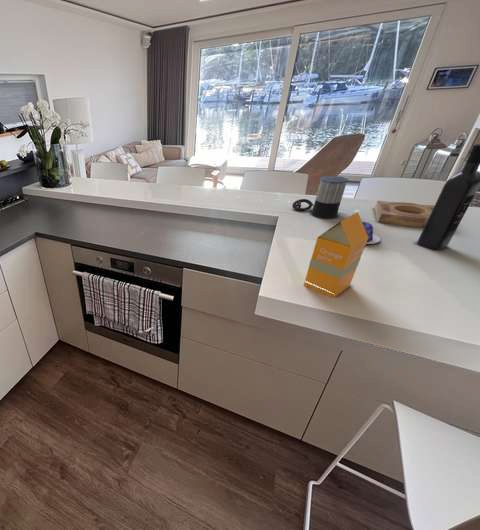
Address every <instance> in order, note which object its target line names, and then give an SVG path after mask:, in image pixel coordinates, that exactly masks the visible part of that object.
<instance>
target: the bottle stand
mask: <svg viewBox="0 0 480 530" xmlns="http://www.w3.org/2000/svg"><path fill="white" fill-rule="evenodd" d="M434 206H435V204H427V203H426V204H425V203H414V202H404V201H386V200H376V204H375V205H374V213H375V216H376V220H377V223H380V224H390V225H400V226H404V227H414V228H424V227H425V225H426V223H427V221H428V218H429V216H430V214H431V212H432V210H433V208H434Z"/></svg>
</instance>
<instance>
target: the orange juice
mask: <svg viewBox="0 0 480 530" xmlns="http://www.w3.org/2000/svg"><path fill="white" fill-rule="evenodd" d="M362 222H363V221H362V218H361V216H360V214H359V212H355V213H353V214H352V215H350V216H348V217H346V218H344V219H342V220H340V221H339V222H337V223H336V224H334V225H333V226H332V227H330V228H329V229H328V230H326V231H325V232H323V233H322V234H320V235H319V236H317V238H316V241H315V245H314V248H313V252H312V254H311V258H310V261H309V265H308V269H307V272H306V276H305V279H304V282H303V286H304V287H306V288H309V289H311V288H312V289H311V290H314V291H316V292H319V293H321V294H323V295H325V296H328V297H330V298H332V299H334V298H336V297H337V296H338V295H340V294H341V293H342V292H344V291H345V290H346V289H348V288H349V287H350V286H351V284H352V282H353V279H354V277H355V273H356V271H357V268H358V266H359V264H360V262H361V258H362V255H363V253H364V251H365V248H366V245H367V244H366V243H367V240H368V235H367V233H366V230H365V228H364V226H363V223H362ZM305 280H306V281H308V282H310V283H312V284H315V285H317V286H319V287H321V288H324V289H326V290H328V291H330V292H332V293H334V294H335V295H334V294H332V293H329V292H327V291H325V290H322V289H320V288H317V287H315V286H313V285H310V284H308V283H305Z"/></svg>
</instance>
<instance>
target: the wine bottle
mask: <svg viewBox="0 0 480 530" xmlns="http://www.w3.org/2000/svg"><path fill="white" fill-rule="evenodd" d="M479 166H480V143H478V144H476V143H475V144H473V145H472V148H471V150H470V151H469V155H468V157H467V159H466V161H465V163H464V165H463V166H462V169H461V170H460V171H459V172H457V173H456V174H454V175H452V176H451V177H449V178H448V179H447V181H446V182H445V183H444V185H443V187H442V189H441V191H440V194H439V196H438V198H437V199H436V202H435V204H434V205H435V206H434V208H433V210H432V212H431V214H430V216H429V218H428V221H427V223H426V225H425V227H423V229H422V231H421V233H420V235H419V237H418V240H417V242H416V244H417V245H419V246H422V247H424V248H427V249H431V250H434V251H437V250H441V249H444V248H447V247H448V246H449V244H450V242H451V240H452V238H453V236H454V235H455V233H456V231H457V229H458V228H459V225H460V223H461V222H462V221H463V218H464V216H465V214H466V212H467V210H468V209H469V207H470V205H471V203H472V201H473V200H474V197H475V196H476V194H477V192H478V191H479V188H480V177H479V175H478V174H476V171H477V169H478V167H479Z"/></svg>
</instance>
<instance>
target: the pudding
mask: <svg viewBox="0 0 480 530" xmlns="http://www.w3.org/2000/svg"><path fill="white" fill-rule="evenodd" d="M362 223H363V226H364V228H365V230H366V233H367V235H368V240H367V243H366V245H371V244H372V245H373V244H377V243H380V241H381V238H380V236H378V235H377V234H375V233H374V226H373V224H371V223H370V222H366V221H362Z"/></svg>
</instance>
